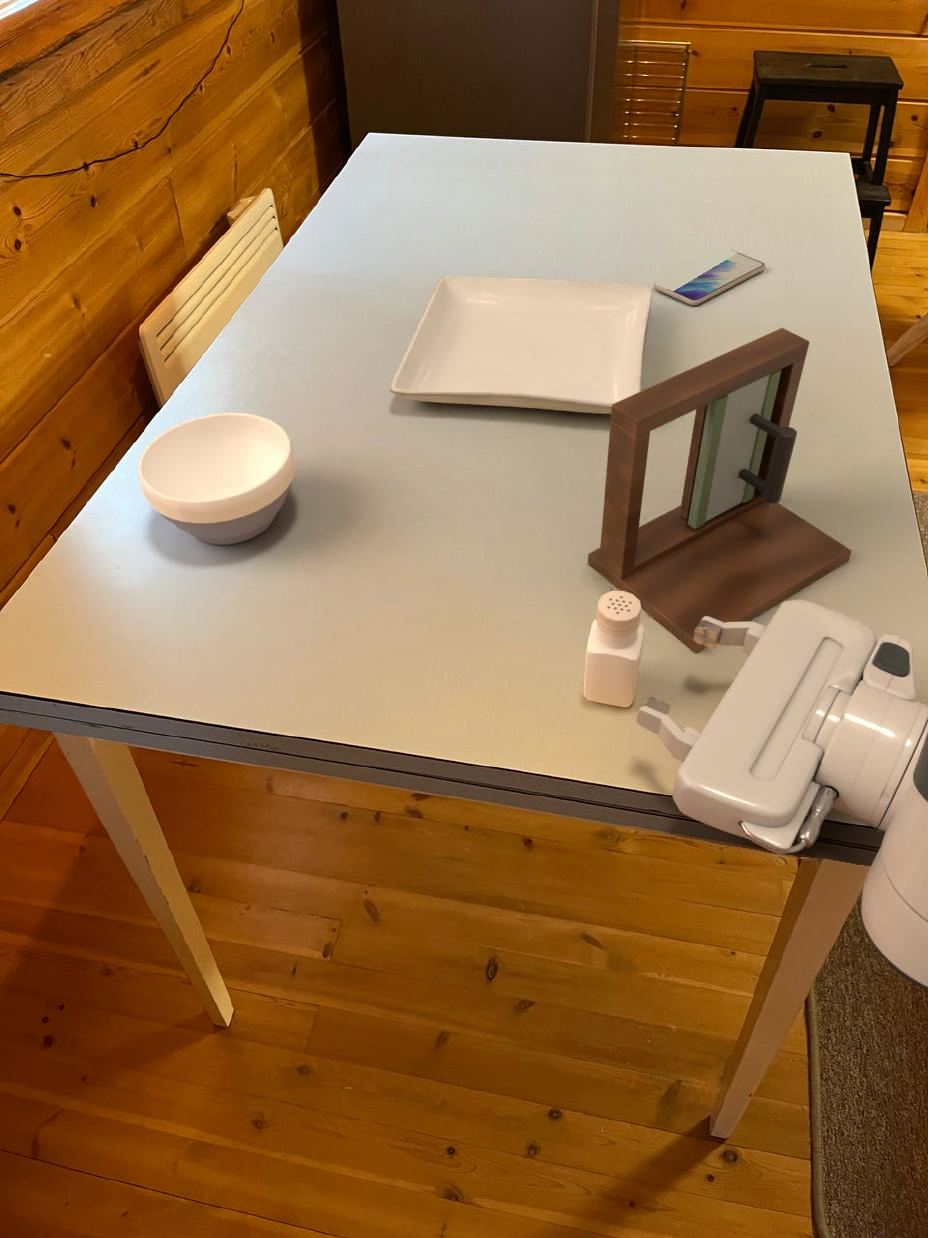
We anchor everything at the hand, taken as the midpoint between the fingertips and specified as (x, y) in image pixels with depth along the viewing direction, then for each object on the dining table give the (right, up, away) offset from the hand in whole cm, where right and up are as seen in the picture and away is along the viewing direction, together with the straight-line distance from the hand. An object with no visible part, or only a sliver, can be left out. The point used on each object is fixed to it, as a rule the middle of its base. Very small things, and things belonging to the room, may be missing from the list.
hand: (670, 667), depth 68 cm
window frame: (+8, +9, +16) cm, 20 cm away
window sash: (+10, +12, +17) cm, 23 cm away
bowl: (-38, +13, +24) cm, 47 cm away
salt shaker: (-3, -2, +7) cm, 8 cm away
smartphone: (+17, +48, +55) cm, 75 cm away
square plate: (-8, +34, +43) cm, 55 cm away
